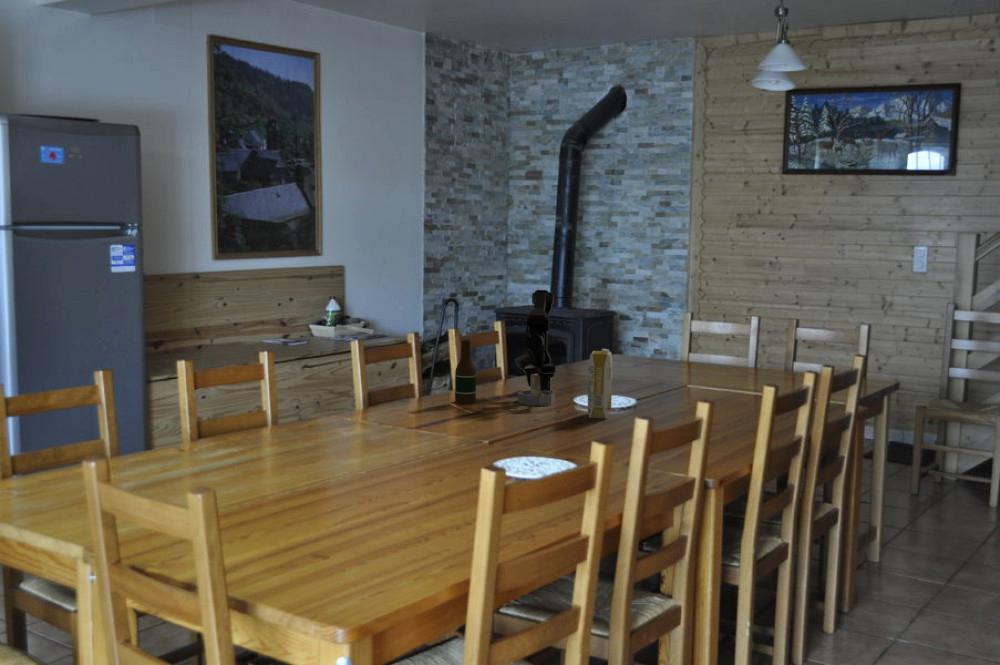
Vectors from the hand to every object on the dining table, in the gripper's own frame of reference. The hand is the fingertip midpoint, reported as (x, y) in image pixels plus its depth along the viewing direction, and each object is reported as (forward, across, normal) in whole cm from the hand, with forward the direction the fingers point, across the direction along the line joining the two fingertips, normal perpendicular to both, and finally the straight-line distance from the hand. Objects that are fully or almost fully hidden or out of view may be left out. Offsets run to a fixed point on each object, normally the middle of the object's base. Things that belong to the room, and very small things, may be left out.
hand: (536, 388), depth 370 cm
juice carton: (+6, +30, +9) cm, 32 cm away
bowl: (+6, 0, 0) cm, 6 cm away
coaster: (+6, -12, -10) cm, 17 cm away
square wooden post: (+5, 0, 0) cm, 5 cm away
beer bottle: (+6, -9, -25) cm, 27 cm away
